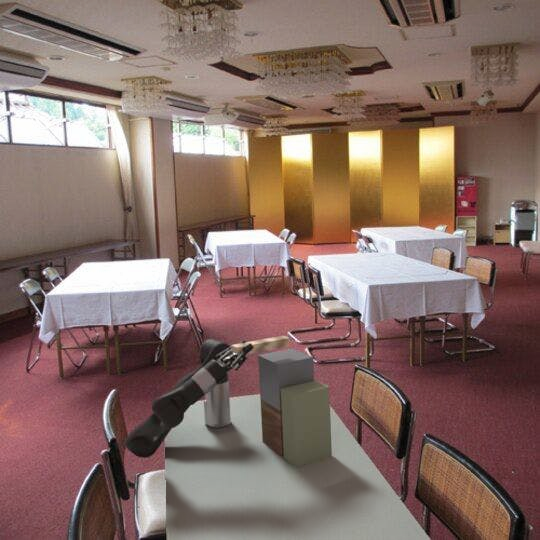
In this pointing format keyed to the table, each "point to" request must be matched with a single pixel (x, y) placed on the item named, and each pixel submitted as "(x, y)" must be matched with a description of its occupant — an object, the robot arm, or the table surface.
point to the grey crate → (283, 373)
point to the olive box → (306, 422)
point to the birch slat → (263, 345)
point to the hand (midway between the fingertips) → (248, 343)
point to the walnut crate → (272, 427)
